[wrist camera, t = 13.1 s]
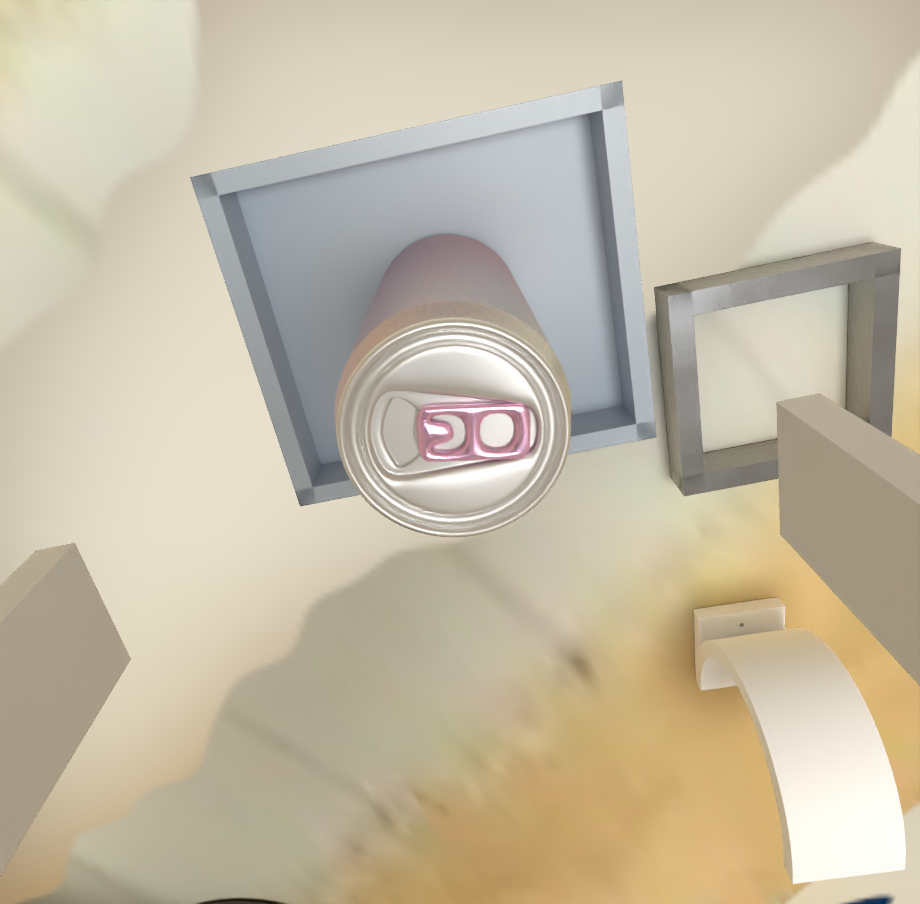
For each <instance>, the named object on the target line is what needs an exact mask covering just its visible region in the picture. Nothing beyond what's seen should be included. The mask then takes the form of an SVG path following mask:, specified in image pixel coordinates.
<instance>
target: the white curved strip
mask: <svg viewBox="0 0 920 904" xmlns="http://www.w3.org/2000/svg"><path fill="white" fill-rule="evenodd" d="M694 639H695V672H696V682H697V684H698V686H699V688H700V690H701V691H703V690H710V689H717V688H724V687H731V686H737V687H738V688H739V690H740V692H741V695H742V697H743V699H744V701H745V703H746V705H747V708H748V710H749V712H750V715H751V717H752V720H753V722H754V725H755V728H756V731H757V733H758V736H759V739H760V742H761V745H762V748H763V751H764V754H765V758H766V761H767V765H768V768H769V772H770V776H771V780H772V783H773V788H774V792H775V797H776V801H777V806H778V811H779V817H780V823H781V830H782V839H783V851H784V867H785V869H786V871H787V873H788V875H789V877H790V879H791V881H792V884H796V883H804V882H812V881H819V880H826V879H835V878H842V877H850V876H858V875H865V874H874V873H881V872H888V871H896V870H904V869H905V859H906V845H905V832H904V824H903V816H902V811H901V806H900V801H899V796H898V792H897V788H896V784H895V780H894V777H893V773H892V769H891V766H890V763H889V760H888V757H887V754H886V751H885V748H884V745H883V743H882V740H881V737H880V735H879V732H878V730H877V727H876V725H875V723H874V720H873V718H872V716H871V714H870V711H869V709H868V707H867V705H866V703H865V701H864V699H863V697H862V695H861V693H860V691H859V689H858V688H857V686H856V684H855V683H854V681H853V679H852V677H851V676H850V674H849V673H848V671H847V670H846V668H845V666H844V665H843V664H842V662H841V661H840V660H839V658H838V657H837V656H836V654H835V653H834V652H833V651H832V649H831V648H830V647H829V646H828V645H827V644H826V643H825V642H824V641H823V640H822V639H821V638H819V637H818V636H817V635H816V634H814V633H813V632H811V631H809V630H807V629H804V628H790V629H785V605H784V604H783V603H782V601H781V600H780V598H779V597H775V598H768V599H761V600H754V601H747V602H740V603H734V604H727V605H720V606H713V607H706V608H699V609H694Z"/></svg>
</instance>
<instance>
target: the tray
mask: <svg viewBox="0 0 920 904" xmlns="http://www.w3.org/2000/svg"><path fill="white" fill-rule="evenodd" d="M191 181H192V184H193V187H194V190H195V193H196V196H197V199H198V202H199V205H200V208H201V211H202V214H203V217H204V220H205V223H206V226H207V229H208V232H209V235H210V238H211V241H212V244H213V247H214V250H215V253H216V256H217V259H218V262H219V265H220V268H221V271H222V274H223V277H224V280H225V283H226V286H227V289H228V292H229V295H230V297H231V301H232V304H233V307H234V310H235V313H236V316H237V319H238V322H239V325H240V328H241V331H242V334H243V337H244V339H245V343H246V345H247V349H248V352H249V355H250V358H251V361H252V364H253V367H254V369H255V372H256V376H257V378H258V381H259V384H260V387H261V390H262V393H263V396H264V399H265V402H266V405H267V408H268V411H269V414H270V417H271V420H272V423H273V426H274V429H275V432H276V435H277V438H278V441H279V444H280V447H281V450H282V453H283V456H284V459H285V462H286V465H287V468H288V471H289V474H290V477H291V480H292V483H293V486H294V489H295V492H296V495H297V498H298V501H299V504H300V506H304V505H310V504H315V503H320V502H325V501H330V500H335V499H341V498H346V497H351V496H356V495H360V493H359V492H358V491H357V489H356V488H355V487H354V485H353V483H352V482H351V480H350V478H349V476H348V475H347V473H346V470H345V468H344V466H343V463H342V460H341V457H340V452H339V448H338V442H337V433H336V427H335V398H336V392H337V387H338V384H339V380H340V378H341V375H342V372H343V370H344V367H345V365H346V363H347V360H348V358H349V356H350V353H351V351H352V349H353V346H354V344H355V342H356V339H357V337H358V335H359V332H360V330H361V328H362V325H363V323H364V321H365V318H366V316H367V314H368V311H369V309H370V307H371V304H372V302H373V300H374V297H375V295H376V293H377V290H378V288H379V286H380V283H381V281H382V279H383V276H384V274H385V272H386V270H387V269H388V267H389V266H390V264H391V263H392V261H393V260H394V259H395V258H396V257H397V256H398V255H399V254H400V253H401V252H402V251H403V250H404V249H406V248H407V247H408V246H410V245H411V244H413V243H415V242H417V241H419V240H421V239H424V238H427V237H430V236H435V235H442V234H454V235H461V236H466V237H469V238H472V239H475V240H477V241H479V242H481V243H483V244H485V245H486V246H488V247H489V248H491V249H492V250H493V251H494V252H496V253H497V254H498V255H499V256H500V257H501V259H502V260H503V261H504V262H505V264H506V265H507V267H508V268H509V270H510V272H511V273H512V275H513V277H514V279H515V281H516V283H517V284H518V286H519V288H520V290H521V292H522V294H523V296H524V297H525V299H526V301H527V303H528V305H529V307H530V308H531V310H532V312H533V314H534V316H535V318H536V320H537V321H538V323H539V325H540V327H541V329H542V331H543V332H544V334H545V336H546V338H547V340H548V342H549V343H550V345H551V347H552V349H553V351H554V353H555V355H556V356H557V358H558V360H559V362H560V364H561V366H562V368H563V370H564V373H565V376H566V378H567V382H568V385H569V389H570V395H571V404H572V418H571V439H570V445H569V450H568V454H572V453H578V452H583V451H588V450H593V449H598V448H603V447H608V446H614V445H619V444H624V443H629V442H634V441H639V440H645V439H650V438H655V437H656V427H655V417H654V407H653V396H652V386H651V376H650V366H649V355H648V345H647V335H646V324H645V314H644V304H643V293H642V284H641V273H640V262H639V252H638V242H637V232H636V221H635V211H634V201H633V190H632V180H631V171H630V159H629V149H628V138H627V129H626V118H625V108H624V97H623V87H622V81H619V82H614V83H609V84H605V85H600V86H596V87H592V88H588V89H583V90H578V91H574V92H569V93H565V94H560V95H556V96H551V97H547V98H543V99H538V100H534V101H529V102H525V103H520V104H516V105H511V106H507V107H502V108H498V109H494V110H489V111H485V112H480V113H475V114H471V115H467V116H462V117H458V118H453V119H449V120H444V121H440V122H436V123H431V124H426V125H422V126H418V127H413V128H409V129H404V130H400V131H395V132H391V133H386V134H382V135H378V136H373V137H368V138H364V139H359V140H355V141H351V142H346V143H342V144H338V145H333V146H328V147H324V148H319V149H315V150H310V151H306V152H301V153H297V154H292V155H288V156H284V157H279V158H275V159H271V160H266V161H261V162H257V163H252V164H248V165H243V166H239V167H235V168H230V169H226V170H221V171H217V172H212V173H208V174H203V175H199V176H194V177H191Z"/></svg>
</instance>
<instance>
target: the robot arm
mask: <svg viewBox="0 0 920 904" xmlns="http://www.w3.org/2000/svg"><path fill="white" fill-rule="evenodd" d="M777 435H778V472H779V508H780V535H781V536H782V537H783V538H784V539H785V540H786V541H787V542H788V543H789V544H790V545H791V547H792V548H793V549H794V550H795V551H796V552H797V553H798V554H799V555H800V556H801V557H802V558H803V560H804V561H805V562H806V563H807V564H808V565H809V566H810V567H811V568H812V569H813V570H814V572H815V573H816V574H817V575H818V576H819V577H820V578H821V579H822V580H823V581H824V582H825V583H826V585H827V586H828V587H829V588H830V589H831V590H832V591H833V592H834V593H835V594H836V595H837V597H838V598H839V599H840V600H841V601H842V602H843V603H844V604H845V605H846V606H847V607H848V608H849V610H850V611H851V612H852V613H853V614H854V615H855V616H856V617H857V618H858V619H859V620H860V622H861V623H862V624H863V625H864V626H865V627H866V628H867V629H868V630H869V631H870V632H871V633H872V635H873V636H874V637H875V638H876V639H877V640H878V641H879V642H880V643H881V644H882V645H883V647H884V648H885V649H886V650H887V651H888V652H889V653H890V654H891V655H892V656H893V657H894V658H895V660H896V661H897V662H898V663H899V664H900V665H901V666H902V667H903V668H904V669H905V670H906V672H907V673H908V674H909V675H910V676H911V677H912V678H913V679H914V680H915V681H916V682H917V683H918V685H919V686H920V455H919V454H918V453H916V452H914V451H913V450H911V449H909V448H908V447H906V446H905V445H903V444H901V443H900V442H898V441H896V440H895V439H893V438H891V437H890V436H888V435H887V434H885V433H883V432H882V431H880V430H878V429H877V428H875V427H873V426H872V425H870V424H869V423H867V422H865V421H864V420H862V419H860V418H859V417H857V416H856V415H854V414H852V413H851V412H849V411H847V410H846V409H844V408H842V407H841V406H839V405H838V404H836V403H834V402H833V401H831V400H829V399H828V398H826V397H824V396H823V395H821V394H815V395H810V396H805V397H800V398H795V399H790V400H785V401H780V402H777ZM129 661H130V656H129V655H128V652H127V650H126V648H125V646H124V644H123V642H122V640H121V638H120V636H119V634H118V632H117V630H116V627H115V625H114V623H113V621H112V619H111V617H110V615H109V613H108V611H107V609H106V607H105V605H104V603H103V601H102V599H101V596H100V594H99V592H98V590H97V588H96V586H95V585H94V582H93V580H92V578H91V576H90V574H89V572H88V570H87V567H86V565H85V563H84V561H83V559H82V557H81V555H80V553H79V551H78V549H77V547H76V545H75V543H73V544H67V545H62V546H57V547H52V548H47V549H43V550H38V551H35V552H34V553H33V554H32V555H31V556H30V557H29V558H28V559H27V560H26V561H25V562H24V563H23V564H22V565H21V566H20V567H19V568H18V569H17V570H16V571H15V572H14V573H13V574H12V575H11V576H10V577H9V578H8V579H7V580H6V581H5V582H4V583H3V584H2V585H1V586H0V876H1V874H2V872H3V871H4V869H5V867H6V866H7V864H8V862H9V861H10V859H11V857H12V856H13V854H14V852H15V851H16V849H17V847H18V846H19V844H20V842H21V840H22V839H23V837H24V835H25V834H26V832H27V831H28V829H29V827H30V826H31V824H32V822H33V821H34V819H35V817H36V816H37V814H38V812H39V811H40V809H41V807H42V806H43V804H44V802H45V801H46V799H47V797H48V796H49V794H50V793H51V791H52V789H53V788H54V786H55V784H56V783H57V781H58V779H59V777H60V776H61V774H62V773H63V771H64V769H65V768H66V766H67V764H68V762H69V761H70V759H71V758H72V756H73V754H74V752H75V751H76V749H77V748H78V746H79V744H80V742H81V741H82V739H83V738H84V736H85V734H86V733H87V731H88V729H89V728H90V726H91V724H92V723H93V721H94V719H95V718H96V716H97V714H98V713H99V711H100V709H101V708H102V706H103V704H104V703H105V701H106V699H107V698H108V696H109V694H110V693H111V691H112V689H113V688H114V686H115V684H116V683H117V681H118V679H119V678H120V676H121V674H122V673H123V671H124V670H125V668H126V666H127V664H128V663H129ZM211 904H269V903H263V902H252V901H228V902H218V903H211Z"/></svg>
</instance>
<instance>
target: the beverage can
mask: <svg viewBox="0 0 920 904" xmlns="http://www.w3.org/2000/svg"><path fill="white" fill-rule="evenodd" d="M571 418H572V404H571V395H570V389H569V385H568V382H567V378H566V376H565V373H564V370H563V368H562V366H561V364H560V362H559V360H558V358H557V356H556V355H555V353H554V351H553V349H552V347H551V345H550V343H549V342H548V340H547V338H546V336H545V334H544V332H543V331H542V329H541V327H540V325H539V323H538V321H537V320H536V318H535V316H534V314H533V312H532V310H531V308H530V307H529V305H528V303H527V301H526V299H525V297H524V296H523V294H522V292H521V290H520V288H519V286H518V284H517V283H516V281H515V279H514V277H513V275H512V273H511V272H510V270H509V268H508V267H507V265H506V264H505V262H504V261H503V260H502V259H501V257H500V256H499V255H498V254H497V253H496V252H494V251H493V250H492V249H491V248H489V247H488V246H486V245H485V244H483V243H481V242H479V241H477V240H475V239H472V238H469V237H466V236H461V235H454V234H442V235H435V236H430V237H427V238H424V239H421V240H419V241H417V242H415V243H413V244H411V245H410V246H408V247H407V248H406V249H404V250H403V251H402V252H401V253H400V254H399V255H398V256H397V257H396V258H395V259H394V260H393V261H392V263H391V264H390V266H389V267H388V269H387V270H386V272H385V274H384V276H383V279H382V281H381V283H380V286H379V288H378V290H377V293H376V295H375V297H374V300H373V302H372V304H371V307H370V309H369V311H368V314H367V316H366V318H365V321H364V323H363V325H362V328H361V330H360V332H359V335H358V337H357V339H356V342H355V344H354V346H353V349H352V351H351V353H350V356H349V358H348V360H347V363H346V365H345V367H344V370H343V372H342V375H341V378H340V380H339V384H338V387H337V392H336V398H335V427H336V433H337V442H338V448H339V452H340V457H341V460H342V463H343V466H344V468H345V470H346V473H347V475H348V476H349V478H350V480H351V482H352V483H353V485H354V487H355V488H356V489H357V491H358V492H359V493H360V495H361V496H362V497H363V498H364V499H365V500H366V501H367V502H368V503H369V504H370V505H371V506H372V507H373V508H374V509H375V510H377V511H378V512H379V513H381V514H382V515H383V516H385V517H386V518H388V519H389V520H391V521H393V522H395V523H397V524H399V525H401V526H403V527H405V528H408V529H410V530H413V531H416V532H420V533H424V534H428V535H434V536H441V537H465V536H473V535H478V534H483V533H487V532H490V531H493V530H496V529H499V528H501V527H503V526H506V525H508V524H510V523H512V522H514V521H515V520H517V519H519V518H520V517H522V516H523V515H525V514H526V513H527V512H529V511H530V510H531V509H532V508H534V507H535V506H536V505H537V504H538V503H539V502H540V501H541V500H542V499H543V498H544V497H545V496H546V494H547V493H548V492H549V491H550V489H551V488H552V487H553V485H554V483H555V482H556V480H557V479H558V477H559V475H560V473H561V471H562V468H563V466H564V464H565V461H566V458H567V454H568V450H569V445H570V439H571Z"/></svg>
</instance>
